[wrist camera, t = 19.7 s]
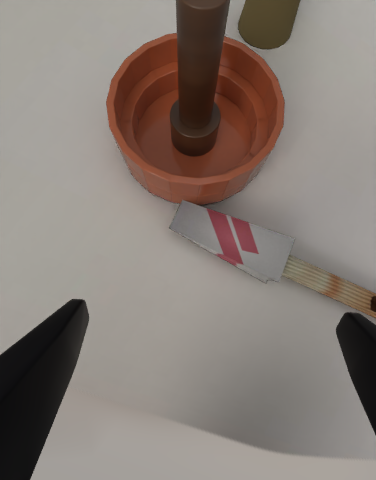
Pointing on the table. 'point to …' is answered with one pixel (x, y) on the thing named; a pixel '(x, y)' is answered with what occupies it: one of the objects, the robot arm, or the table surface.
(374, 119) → the table surface
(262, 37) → the olive game pawn
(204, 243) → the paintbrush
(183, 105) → the pestle
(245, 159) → the bowl
